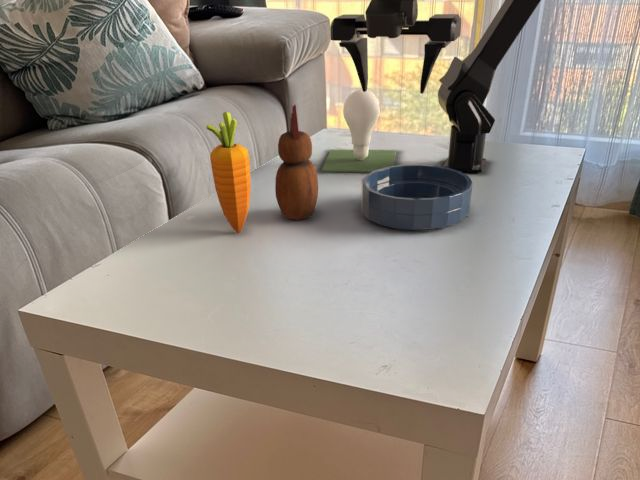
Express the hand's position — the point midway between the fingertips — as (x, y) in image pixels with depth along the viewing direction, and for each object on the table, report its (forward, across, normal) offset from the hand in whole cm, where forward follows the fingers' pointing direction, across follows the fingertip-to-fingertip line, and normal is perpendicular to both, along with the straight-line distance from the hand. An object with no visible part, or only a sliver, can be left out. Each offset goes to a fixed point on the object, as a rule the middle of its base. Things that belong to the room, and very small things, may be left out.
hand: (393, 92), depth 99 cm
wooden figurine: (+12, -8, -24) cm, 28 cm away
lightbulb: (+12, -6, +3) cm, 14 cm away
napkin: (+12, -6, +3) cm, 14 cm away
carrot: (+12, -14, -32) cm, 37 cm away
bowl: (+12, +8, -18) cm, 23 cm away
